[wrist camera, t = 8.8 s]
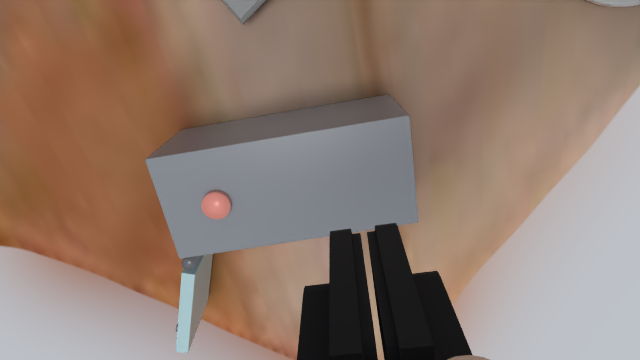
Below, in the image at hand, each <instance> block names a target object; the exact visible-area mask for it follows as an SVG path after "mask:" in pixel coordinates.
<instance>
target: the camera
mask: <svg viewBox="0 0 640 360" xmlns="http://www.w3.org/2000/svg"><path fill="white" fill-rule="evenodd" d="M222 1H223V2H224V3H225V5H226V6H227V7H228V8H229V9H230V10H231V11H232V13H233V14H234V15H235V16H236V17H237V18H238V19H239V21H240V22H241V23H242V24H244V23H245V22H246V21H247V20H248V19H249V18H250V17H251V16H252V15H253V13H254V12H255V11H256V10H257V9H258V8H259V7H260V6H261V5H262V4H263V3H264V2H265V1H266V0H222Z"/></svg>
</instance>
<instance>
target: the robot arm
mask: <svg viewBox="0 0 640 360" xmlns="http://www.w3.org/2000/svg"><path fill="white" fill-rule="evenodd" d="M586 1H589V2H592V3H594V4H597V5H602V6H609V7H629V6H634V5H640V0H586ZM367 236H368V244H369V251H370V259H371V266H372V274H373V281H374V289H375V296H376V304H377V311H378V319H379V326H380V333H381V339H382V346H383V352H384V359H385V360H489V359H486V358H484V357H478V356H473V355H472V353H471V350H470V348H469V346H468V343H467V340H466V338H465V336H464V333H463V331H462V328H461V326H460V323H459V321H458V319H457V316H456V314H455V311H454V309H453V306H452V304H451V301H450V299H449V296H448V294H447V292H446V289H445V287H444V284H443V282H442V279H441V277H440V275H439V273H438V272H437V271H432V272H423V273H415V274H412V272H411V269H410V266H409V262H408V259H407V256H406V253H405V249H404V246H403V243H402V239H401V236H400V233H399V230H398V226H397V223H390V224H382V225H375V231H373V232H367ZM297 360H378V358H377V351H376V343H375V336H374V328H373V321H372V314H371V307H370V299H369V292H368V285H367V278H366V271H365V264H364V257H363V250H362V243H361V235H360V233H357V234H352V231H351V229H343V230H335V231H330V282H329V284H320V285H311V286H305V288H304V292H303V303H302V313H301V324H300V334H299V344H298V355H297Z"/></svg>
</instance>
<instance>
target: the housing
mask: <svg viewBox="0 0 640 360" xmlns="http://www.w3.org/2000/svg"><path fill="white" fill-rule="evenodd" d="M145 161H146V164H147V167H148V170H149V172H150V175H151V178H152V181H153V184H154V187H155V190H156V192H157V195H158V198H159V201H160V204H161V207H162V210H163V212H164V215H165V218H166V221H167V224H168V227H169V230H170V232H171V235H172V238H173V241H174V244H175V247H176V250H177V252H178V255H179V258H180V259H181V258H184V259H183V261H182V266H183V268H184V269H186V270H192V269H193V268H194V267H195V265H196V263H197V261H198V259H199V257H200V256H201V255H207V254H214V253H221V252H227V251H234V250H240V249H247V248H253V247H260V246H266V245H273V244H280V243H286V242H293V241H299V240H306V239H312V238H319V237H326V236H330V231H335V230H343V229H351V231H352V232H358V231H365V230H371V229H375V225H382V224H390V223H397V226H398V225H404V224H411V223H417V222H419V221H418V210H417V198H416V187H415V175H414V164H413V152H412V141H411V129H410V118H409V115H408V114H407V113H406V111H405V110H404V109H403V108H402V107H401V106H400V105H399V104H398V103H397V102H396V101H395V100H394V99H393V98H392V97H391V96H390V95H389V94H387V95H381V96H375V97H369V98H363V99H358V100H352V101H346V102H340V103H334V104H328V105H322V106H316V107H310V108H305V109H299V110H293V111H287V112H281V113H275V114H269V115H263V116H258V117H252V118H246V119H240V120H234V121H228V122H222V123H216V124H211V125H205V126H199V127H193V128H187V129H181V130H180V131H179V132H178V133H177V134H175V135H174V136H173V137H172V138H170V139H169V140H168V141H167V142H166V143H164V144H163V145H162V146H161V147H160V148H158V149H157V150H156V151H155V152H154V153H152V154H151V155H150V156H149V157H147V158H146V159H145Z"/></svg>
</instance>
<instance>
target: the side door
mask: <svg viewBox="0 0 640 360" xmlns="http://www.w3.org/2000/svg"><path fill="white" fill-rule="evenodd" d="M212 258H213V254H207V255H201V256H200V257H199V259H198V261H197V263H196V265H195V267H194V268H193V269H192V270H186V269H184V270H183V271H182V276H181V290H180V304H179V317H178V324H177V326H176V332H177V345H176V351H177V352H184V353H188V352H189V349H190V346H191V344H192V341H193V339H194V336H195V333H196V330H197V328H198V326H199V323H200V320H201V318H202V315H203V312H204V310H205V307H206V305H207V302H208V296H209V286H210V277H211V268H212Z"/></svg>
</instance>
